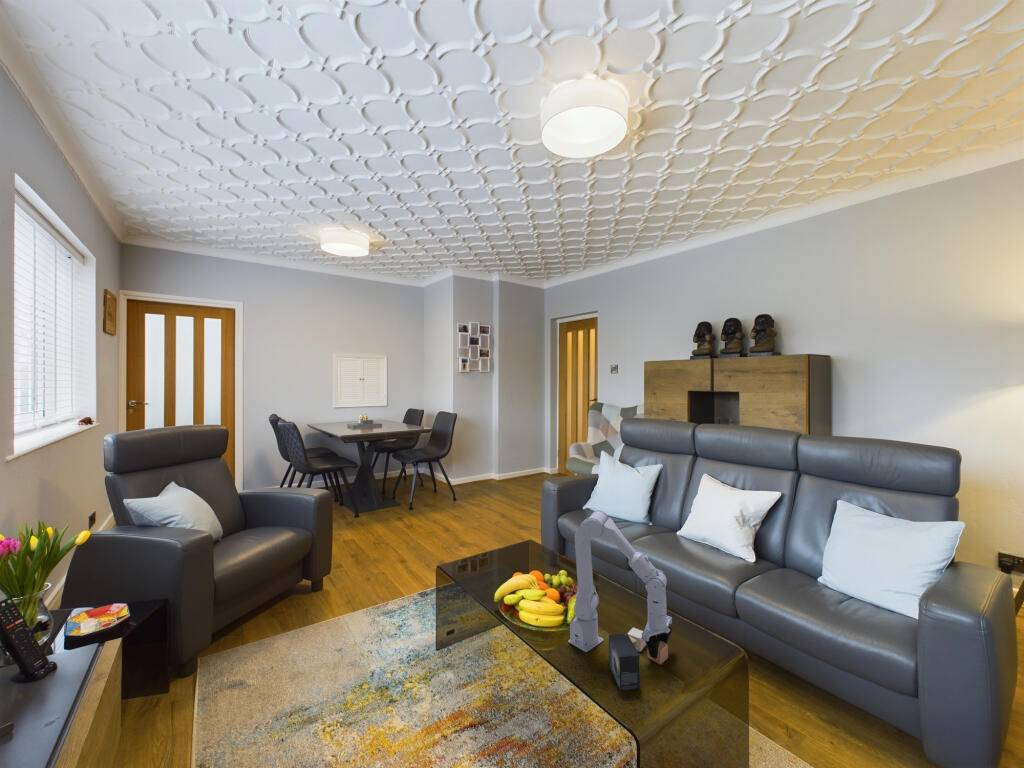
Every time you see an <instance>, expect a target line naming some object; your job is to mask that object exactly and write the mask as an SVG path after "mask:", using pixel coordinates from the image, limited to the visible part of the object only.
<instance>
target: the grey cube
mask: <svg viewBox="0 0 1024 768" xmlns="http://www.w3.org/2000/svg"><path fill="white" fill-rule="evenodd" d="M643 631H644V630H641V629H638V628H636V627H632V628H631V629H630V630H628V632H627V633H626V634H628V635H629V636H630V637H632V638H633V639H635V640H636V641H637V651H638V653H639V652H640V653H641V652H642V651H643V650H644V649H645V647H647V644H646V642H645V640H643V639H642V632H643Z"/></svg>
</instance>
